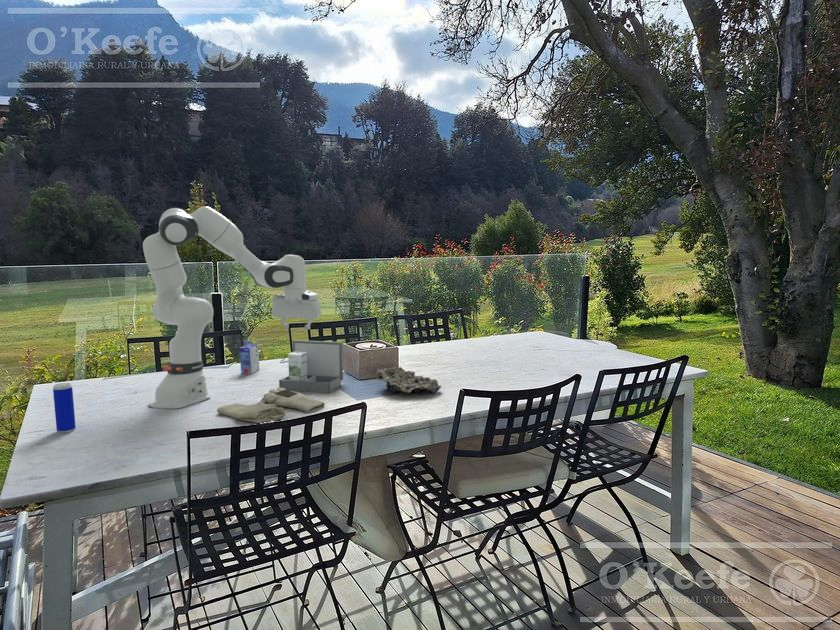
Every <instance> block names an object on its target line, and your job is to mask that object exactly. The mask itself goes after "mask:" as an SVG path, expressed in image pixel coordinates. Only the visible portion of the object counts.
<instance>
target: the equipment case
mask: <svg viewBox="0 0 840 630" xmlns="http://www.w3.org/2000/svg"><path fill="white" fill-rule="evenodd" d="M343 344H344V343H343V341H327V340H326V341H323V340H305V339H303V340H301V339H299V340H298V339H293V340H292V352H306V353H307V380H305V381H294V380H289V375H287V376H284V377H282V378H280V379H279V380H278V382H279V383H278V385H279V387H278V388H284V389H286V390H290V391H293V392H306V393H307V392H309V393H310V392H311V393H321V394H324V393H325V394H331V393H333V392H334V391H335V390H338V389H339V388H341V385H342V383H341V382H342V381H344V355H343V354H344V346H343Z"/></svg>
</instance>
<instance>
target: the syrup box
mask: <svg viewBox="0 0 840 630" xmlns="http://www.w3.org/2000/svg"><path fill="white" fill-rule="evenodd" d="M287 357H288V359H287V360H288V362H287V363H288V376H289V380H294V381H305V380H307V353H306V352H293V351H291V352H289V353H288V355H287Z"/></svg>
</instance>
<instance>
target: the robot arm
mask: <svg viewBox="0 0 840 630" xmlns="http://www.w3.org/2000/svg"><path fill="white" fill-rule="evenodd" d="M157 231H158V232H156V233H153V234H151V235H148V236H147V237H146V238H145V239H144V240H143V241H142V249H143V255H144V259H145V262H146V265H147V267H148V268H147V269H148V270H149V272H150V275H151V278H152V280H153V282H154V286H155V288H156V289H155V290H156V300H155V301H154V303H153V305H152V313H153V314H152V315H153V317H154V318H155V319H156V320H157V321H158V322H162V323H164V324H166V325H172V326H173V325H175V326H177V329H176V330H177V331H176V334H175V336H174V337H173V338H171V340H170V341H169V343H168V347H169V348H168V349H169V363H168V365H163V366H162V371H163V372H167V374H166V375H165V377H164V378H163V379H162V381H161V382H160V383H159V384H158V386H157V387H156V389H155V395H154V397H155V398H154V399H153V400H151V401H150V402H148V407H151V408H156V409H166V410H167V409H170V410H171V409H182V408H184V407H187V406H191V405H193V404H194V405H195V404H197V403H199V402H203V401H207V400H209V399H211V396H210V394H209V392H208V387H207V386H208V385H207V380H206V377H205V375H204V371H203V369H204V362H203V359H202V346H201V345H202V336H203V333H204V330H205V328H206V326H207V325H208V324H210V322H212V320H213V317H214V307H213V305H212V303H211V302H210V301H208V300H206V299H204V298H201V297H195V296H186V295H185V293H184V291H183V287H184V285H186V282H187V280H188V277H187V275H186V271H185V268H184V266H183V264H182V263H183V262H182V261H181V258H180V256H179V253H178V250H177V246H182V245H185V244H186V243H188V242H190V241H192V240H193V239H195V238H197V237H201V238H202V239H204V240H205V241H207V242H208V243H209V244H210V245H212V247H214V248H216V249H217V250H219V251H220V252H222V253H223V254H225V255H227V256H229V257H231V258H232V259H233V260H235V262H237V263H238V264H240V266H242V267H243V268H244V269H245V270H246V271H247V272H248V273H249V274H250V276H251V279H253V282H254V283H255V284H256V285H257V286H258V287H261V288H269V289H270V288H271V289H279V288H282V287H283V294H275V295H273V297H272V299H271V301H272V302H271V303H272V309H271V315H272V317H273V318H276V319H277V318H278V319H280V322H281V323H282V325H283V329H289V328H290V327H289V326H290V325H289V323H287V321H286V320H287V319H306V321H307V323H306V324H305V325H304V329H305V330H310V329H311V324H312V322H313V320H314V319H319V318H321V315H322V311H321V303H320V301H319V300H318V298H319V294H318V293H317V292H313V291H311V290H308V288H307V284H306V278H307V271H306V270H307V269H306V262H305V260H304V258H303V257H302V256H301V255H296V254H285V255H284V256H283V257H281V258H279V259H278V260H276V261H274V262H272V263H270V262H265V261H263V260H260V259H259V258H258V257H256V255H255V254H254V253H252V252H251V251H250V250H249V249H248V248H247V247H246V246H245V244H244V234H243V233H242V232H241V230H240V229H239V228H238V227H237V225H235V224H234V223H233V222H232V221H231V220H230V219H228V218H227V217H226V216H225V215H223V214H222V213H220V212H219V211H217V210H215V209H214V208H212V207H210V206H206V205H204V206H200V207H198V208H196V210H194V211H193V212H192V213H189V212H188V211H187V210H185V208H184V209H183V208H181V207H177V206H171V207H168V208H166V209H164V210H163V211H162V213H161V215H160V216H159V221H158V227H157Z"/></svg>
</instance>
